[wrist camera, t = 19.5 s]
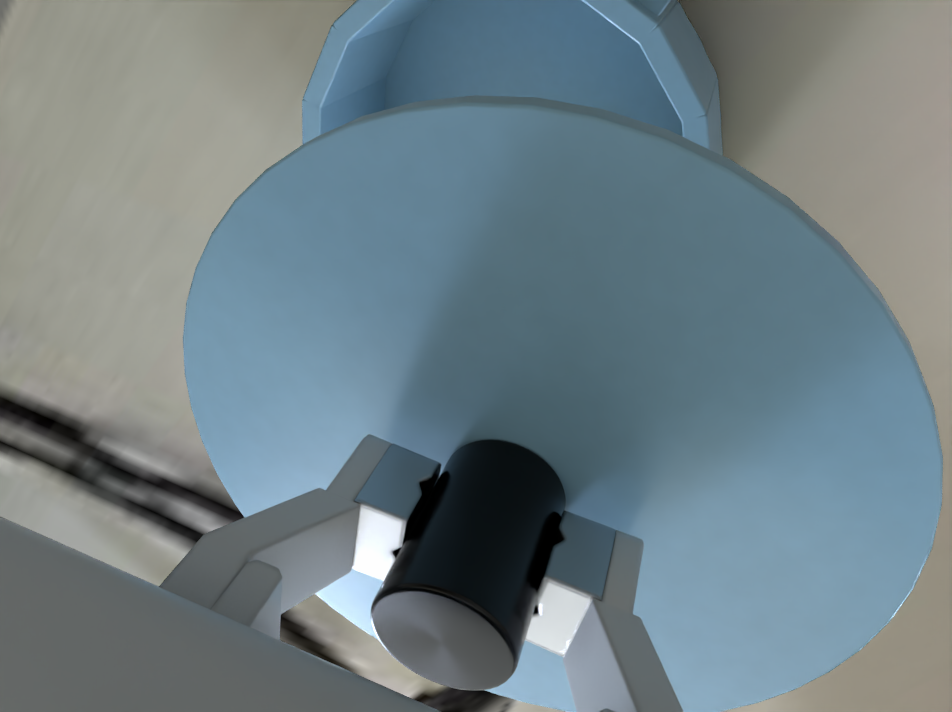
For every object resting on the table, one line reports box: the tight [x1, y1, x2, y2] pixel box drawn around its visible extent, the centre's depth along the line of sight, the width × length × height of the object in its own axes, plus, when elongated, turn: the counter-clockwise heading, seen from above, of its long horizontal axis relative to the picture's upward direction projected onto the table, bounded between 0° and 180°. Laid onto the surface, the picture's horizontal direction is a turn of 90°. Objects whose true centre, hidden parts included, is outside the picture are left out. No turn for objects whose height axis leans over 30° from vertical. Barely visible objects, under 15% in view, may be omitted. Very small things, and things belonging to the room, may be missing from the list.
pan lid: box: [183, 95, 943, 712], centre depth 12 cm, size 14×14×5 cm
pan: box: [302, 0, 723, 156], centre depth 24 cm, size 13×19×5 cm
